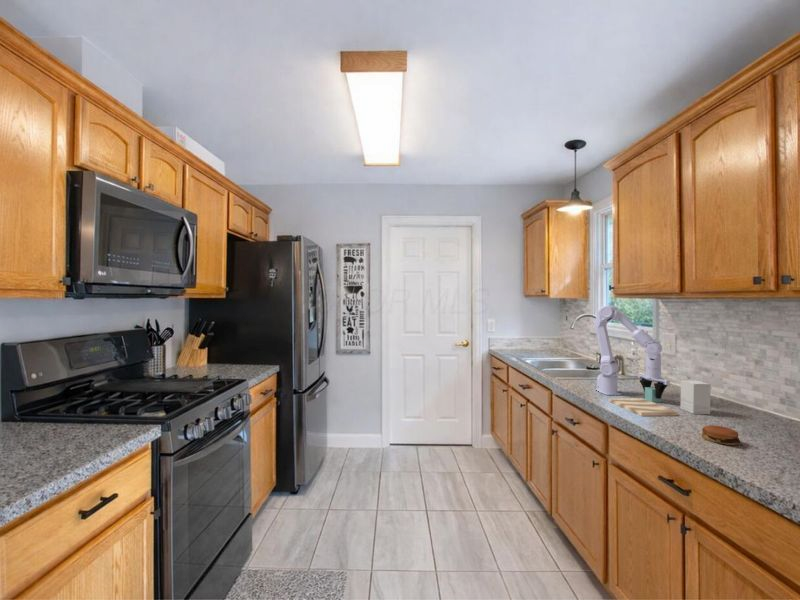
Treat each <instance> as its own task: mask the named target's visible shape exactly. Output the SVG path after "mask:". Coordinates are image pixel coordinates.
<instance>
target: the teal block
mask: <svg viewBox="0 0 800 600" xmlns="http://www.w3.org/2000/svg"><path fill="white" fill-rule="evenodd" d="M644 399H645V400H648V401H651V402H653V403H662V398H661V399H657V398H656V390H655V386H651V387H645V393H644Z"/></svg>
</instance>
